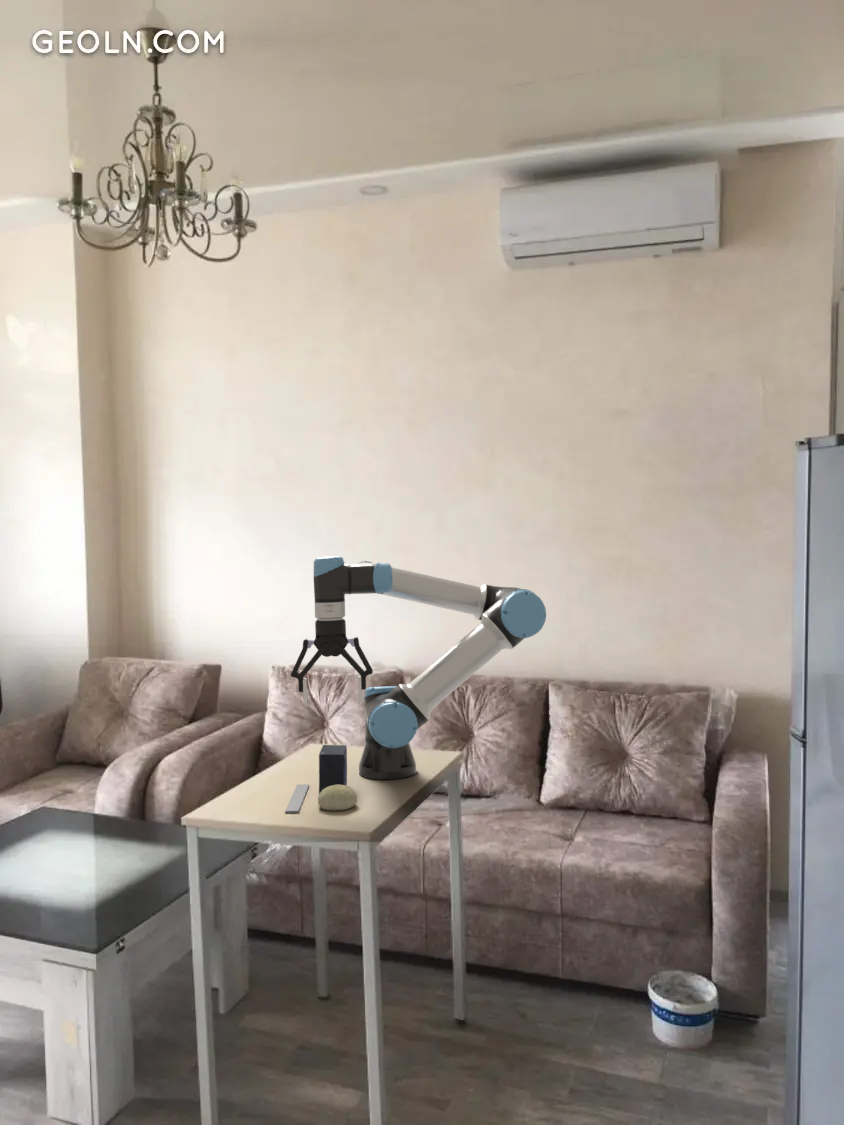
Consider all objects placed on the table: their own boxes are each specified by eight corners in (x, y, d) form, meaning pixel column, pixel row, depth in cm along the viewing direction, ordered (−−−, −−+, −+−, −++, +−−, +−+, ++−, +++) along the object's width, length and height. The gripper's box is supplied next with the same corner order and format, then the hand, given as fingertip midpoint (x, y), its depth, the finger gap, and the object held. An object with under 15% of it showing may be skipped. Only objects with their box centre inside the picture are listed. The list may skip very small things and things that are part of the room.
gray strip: (309, 786, 241) (309, 784, 241) (298, 813, 218) (298, 810, 218) (297, 786, 241) (297, 784, 241) (285, 813, 218) (285, 811, 218)
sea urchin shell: (311, 804, 218) (317, 774, 224) (318, 821, 224) (324, 791, 229) (350, 806, 217) (356, 775, 222) (356, 823, 223) (361, 792, 228)
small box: (345, 796, 232) (344, 753, 231) (318, 797, 231) (317, 754, 231) (348, 785, 242) (347, 744, 242) (322, 785, 242) (321, 744, 242)
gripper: (278, 622, 233) (281, 708, 234) (380, 618, 235) (383, 704, 235) (280, 619, 240) (283, 703, 241) (380, 615, 242) (382, 699, 243)
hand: (333, 704), depth 238 cm, fingers open, 13 cm apart
